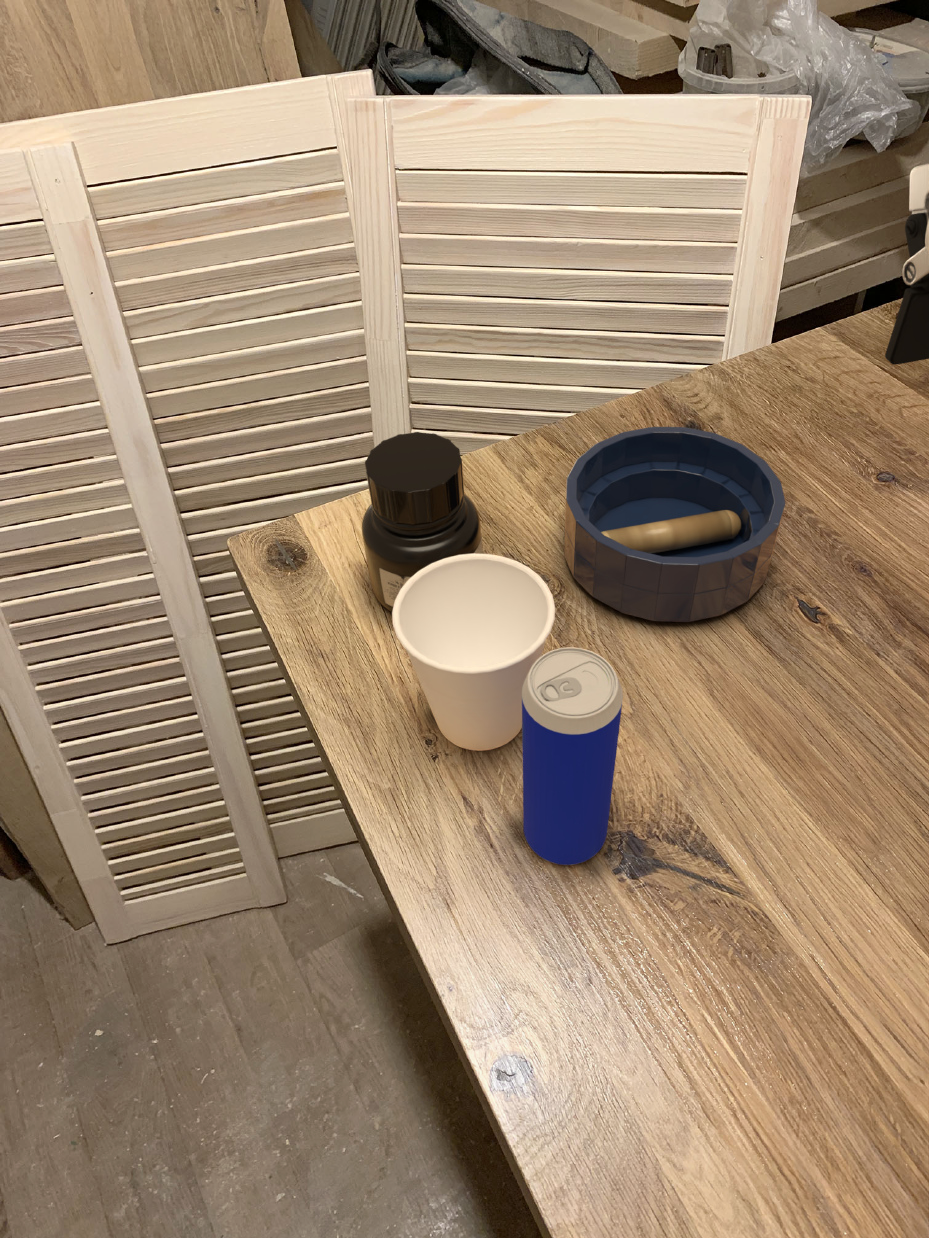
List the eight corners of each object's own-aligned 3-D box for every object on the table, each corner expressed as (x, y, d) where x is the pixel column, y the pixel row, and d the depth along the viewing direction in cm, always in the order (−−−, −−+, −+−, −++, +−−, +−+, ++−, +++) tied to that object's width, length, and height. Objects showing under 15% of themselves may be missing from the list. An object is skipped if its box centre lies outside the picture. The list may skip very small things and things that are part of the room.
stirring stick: (730, 524, 75) (736, 501, 73) (742, 543, 74) (748, 521, 72) (586, 549, 74) (588, 527, 72) (596, 570, 72) (598, 548, 70)
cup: (577, 747, 62) (583, 639, 54) (439, 798, 60) (424, 694, 52) (517, 645, 68) (515, 534, 60) (390, 688, 66) (370, 580, 58)
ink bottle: (392, 640, 69) (372, 520, 61) (350, 568, 75) (326, 448, 66) (507, 596, 72) (504, 473, 63) (459, 529, 77) (449, 408, 69)
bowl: (718, 474, 80) (730, 412, 76) (804, 603, 70) (824, 539, 65) (540, 509, 79) (541, 446, 74) (600, 646, 68) (605, 583, 63)
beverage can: (583, 785, 60) (595, 631, 49) (621, 852, 57) (642, 702, 46) (510, 812, 59) (505, 661, 48) (544, 882, 56) (547, 736, 45)
